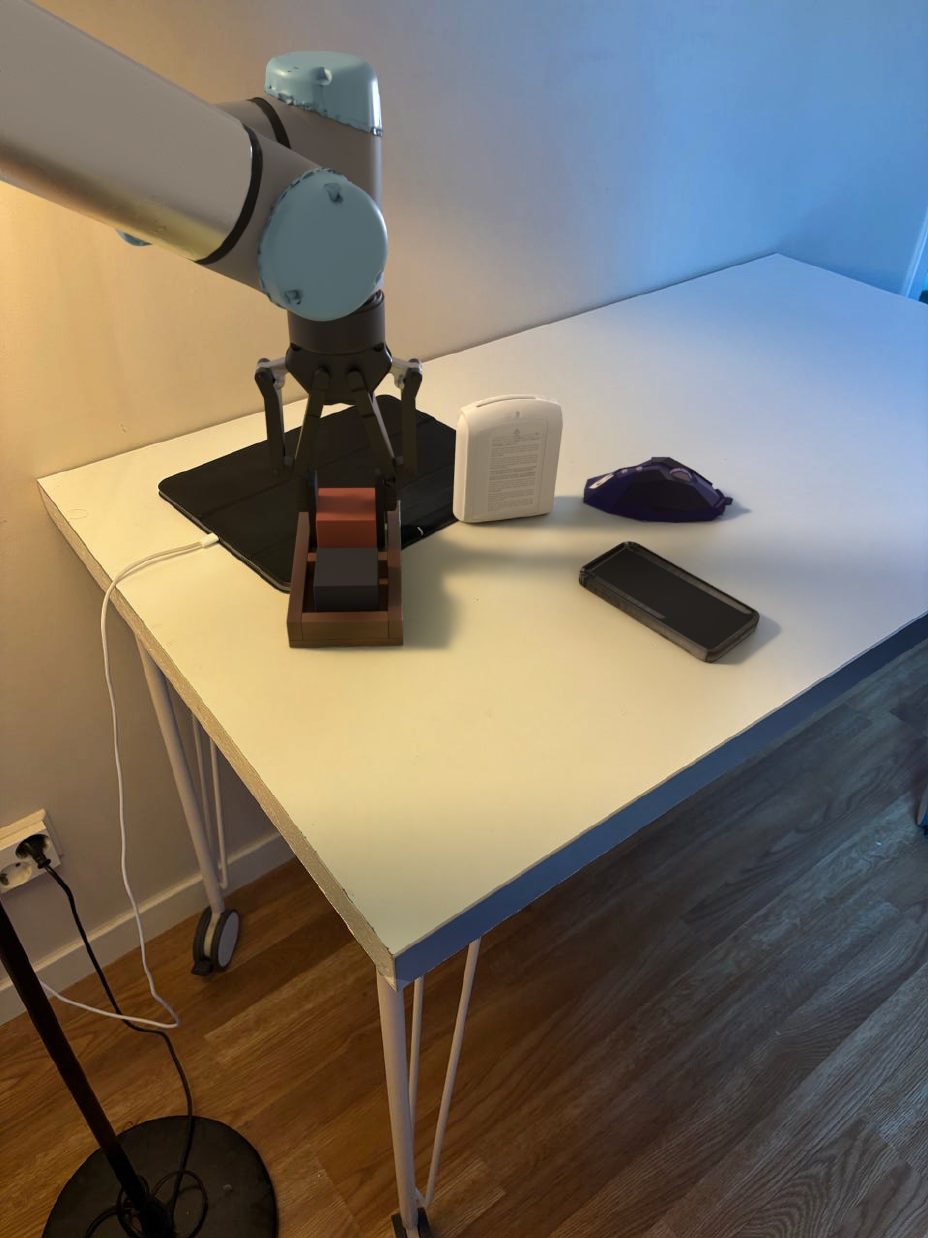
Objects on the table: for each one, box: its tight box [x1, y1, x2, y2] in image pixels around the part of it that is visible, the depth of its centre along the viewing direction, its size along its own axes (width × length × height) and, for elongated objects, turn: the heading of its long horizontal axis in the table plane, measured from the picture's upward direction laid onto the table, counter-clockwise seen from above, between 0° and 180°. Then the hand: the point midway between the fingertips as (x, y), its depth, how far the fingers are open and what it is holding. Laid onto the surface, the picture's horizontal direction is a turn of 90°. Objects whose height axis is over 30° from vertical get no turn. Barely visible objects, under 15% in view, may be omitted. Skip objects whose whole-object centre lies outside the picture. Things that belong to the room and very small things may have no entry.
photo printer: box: [452, 393, 564, 523], centre depth 91 cm, size 10×4×12 cm, turn 105°
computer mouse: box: [582, 456, 734, 523], centre depth 96 cm, size 9×15×4 cm, turn 79°
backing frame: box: [285, 499, 404, 648], centre depth 85 cm, size 9×18×3 cm, turn 4°
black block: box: [313, 548, 379, 613], centre depth 81 cm, size 5×5×4 cm
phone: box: [578, 540, 761, 663], centre depth 84 cm, size 8×1×15 cm
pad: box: [316, 487, 377, 548], centre depth 86 cm, size 5×5×4 cm
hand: (348, 537), depth 88 cm, fingers closed on pad, 5 cm apart
